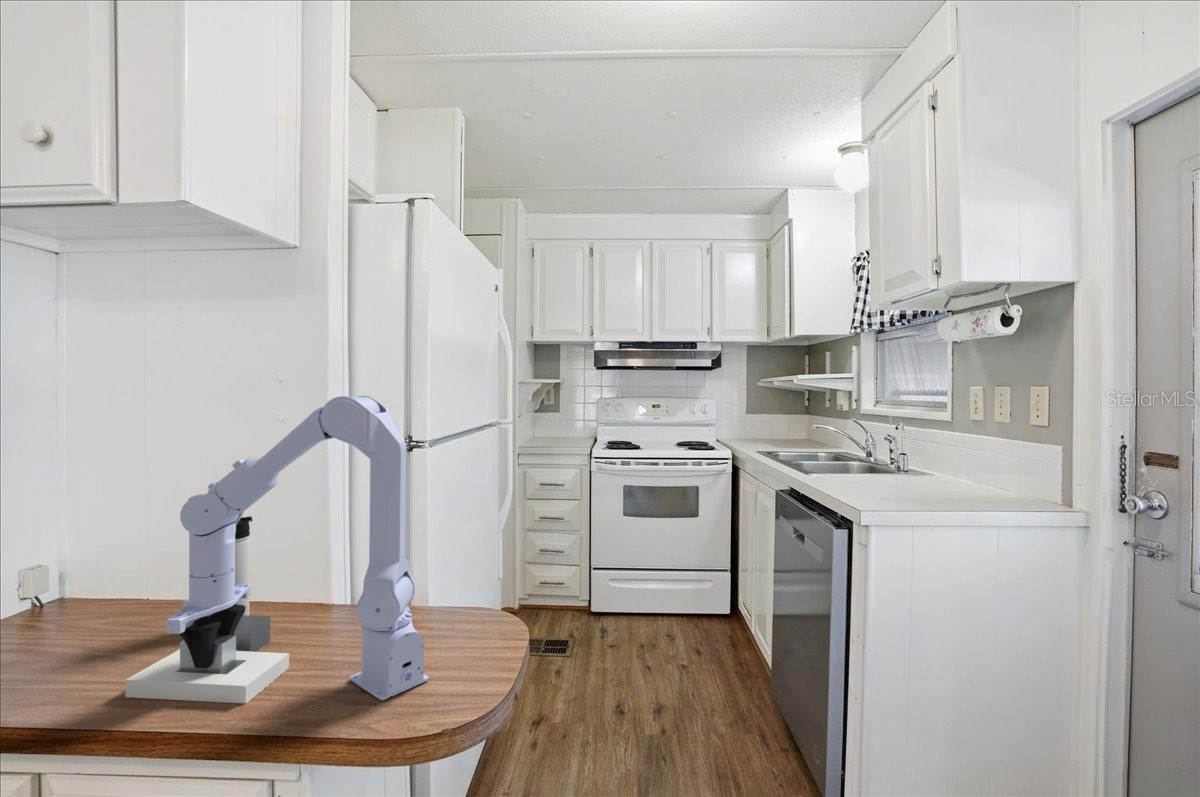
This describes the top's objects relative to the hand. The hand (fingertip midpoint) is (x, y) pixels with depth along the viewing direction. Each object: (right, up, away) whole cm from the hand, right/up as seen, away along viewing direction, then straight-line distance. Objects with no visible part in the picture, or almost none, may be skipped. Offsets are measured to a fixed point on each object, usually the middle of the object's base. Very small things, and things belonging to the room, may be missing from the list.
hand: (211, 661), depth 85 cm
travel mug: (-11, -3, +21) cm, 23 cm away
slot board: (0, -3, 0) cm, 3 cm away
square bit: (-1, -3, +11) cm, 11 cm away
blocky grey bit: (0, -3, 0) cm, 3 cm away
